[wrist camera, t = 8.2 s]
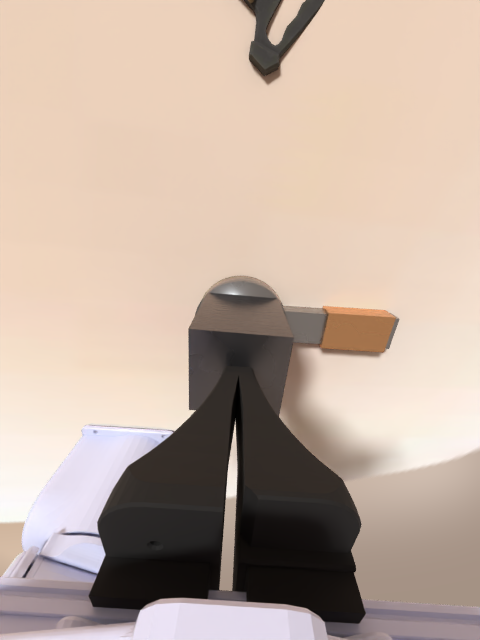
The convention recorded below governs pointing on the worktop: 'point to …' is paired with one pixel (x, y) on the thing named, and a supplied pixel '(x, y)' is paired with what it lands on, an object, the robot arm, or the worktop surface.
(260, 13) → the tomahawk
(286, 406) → the worktop surface
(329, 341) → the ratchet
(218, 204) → the worktop surface
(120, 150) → the worktop surface
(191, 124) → the worktop surface
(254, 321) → the dark grey block
